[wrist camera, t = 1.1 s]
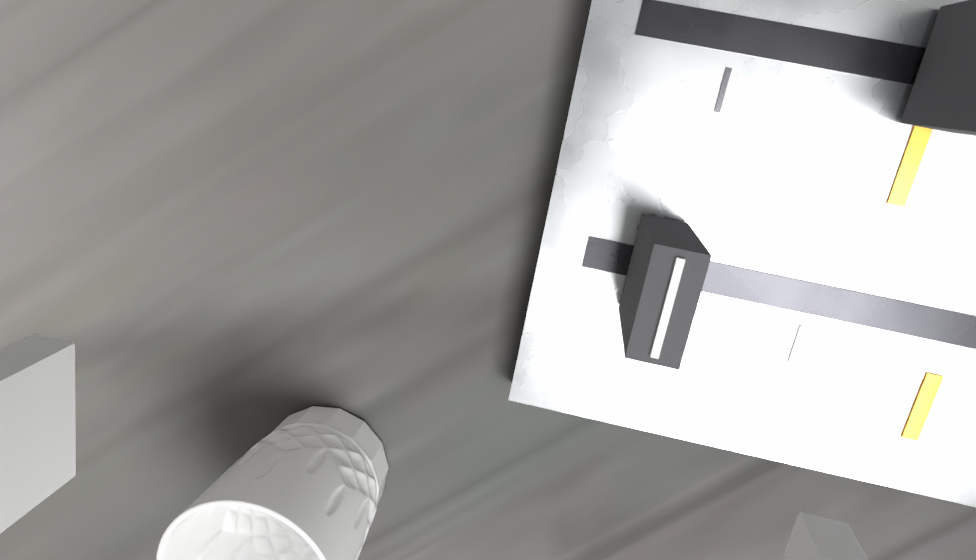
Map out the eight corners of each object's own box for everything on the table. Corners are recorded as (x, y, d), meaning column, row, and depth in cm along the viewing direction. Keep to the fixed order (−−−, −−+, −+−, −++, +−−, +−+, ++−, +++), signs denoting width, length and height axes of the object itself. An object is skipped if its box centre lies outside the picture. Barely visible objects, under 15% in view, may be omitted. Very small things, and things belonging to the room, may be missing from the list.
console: (611, -88, 29) (612, -101, 27) (1218, 13, 27) (1269, 8, 25) (513, 382, 35) (508, 401, 33) (998, 493, 33) (1025, 519, 31)
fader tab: (641, 213, 30) (654, 244, 24) (688, 223, 30) (712, 256, 24) (618, 308, 31) (625, 359, 25) (662, 317, 31) (679, 371, 25)
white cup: (398, 400, 37) (331, 511, 27) (400, 529, 39) (339, 673, 29) (257, 389, 38) (144, 492, 28) (267, 515, 40) (165, 650, 30)
